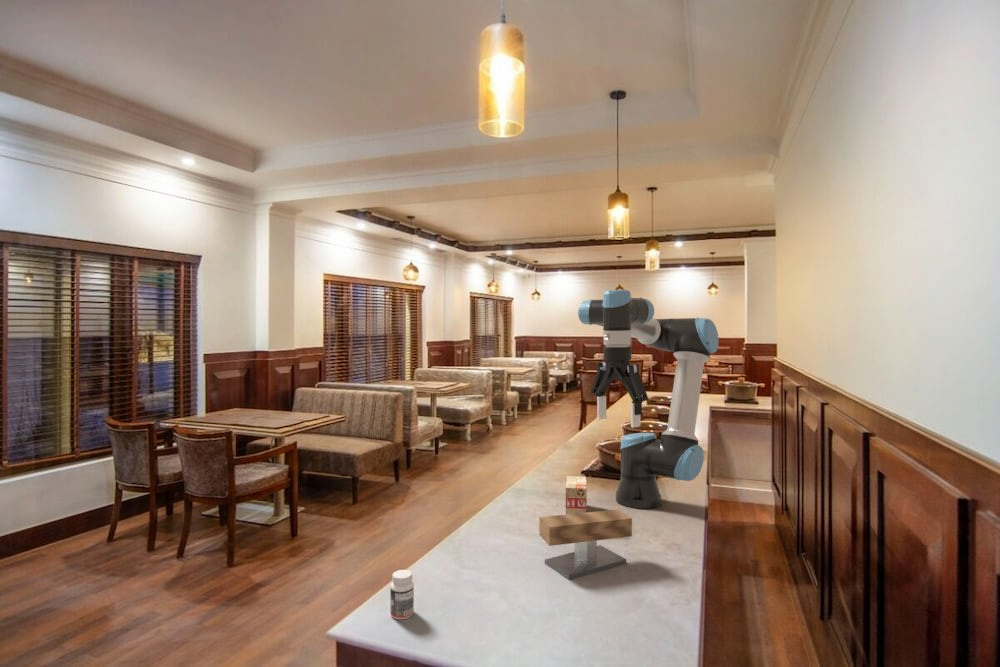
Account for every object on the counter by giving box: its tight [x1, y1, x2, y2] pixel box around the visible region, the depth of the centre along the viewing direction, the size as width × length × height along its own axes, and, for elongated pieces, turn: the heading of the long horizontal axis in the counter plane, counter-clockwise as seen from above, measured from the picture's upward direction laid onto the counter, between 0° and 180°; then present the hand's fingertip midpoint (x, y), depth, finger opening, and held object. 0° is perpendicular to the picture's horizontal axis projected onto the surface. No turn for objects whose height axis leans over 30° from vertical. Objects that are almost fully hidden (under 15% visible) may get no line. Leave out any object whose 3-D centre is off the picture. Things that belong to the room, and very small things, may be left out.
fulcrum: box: [544, 540, 627, 581], centre depth 133 cm, size 18×10×7 cm, turn 119°
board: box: [538, 508, 633, 547], centre depth 133 cm, size 22×7×4 cm, turn 106°
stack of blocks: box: [565, 475, 588, 515], centre depth 167 cm, size 21×6×12 cm, turn 171°
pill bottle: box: [389, 569, 415, 620], centre depth 109 cm, size 5×5×8 cm
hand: (618, 422), depth 146 cm, fingers open, 13 cm apart
